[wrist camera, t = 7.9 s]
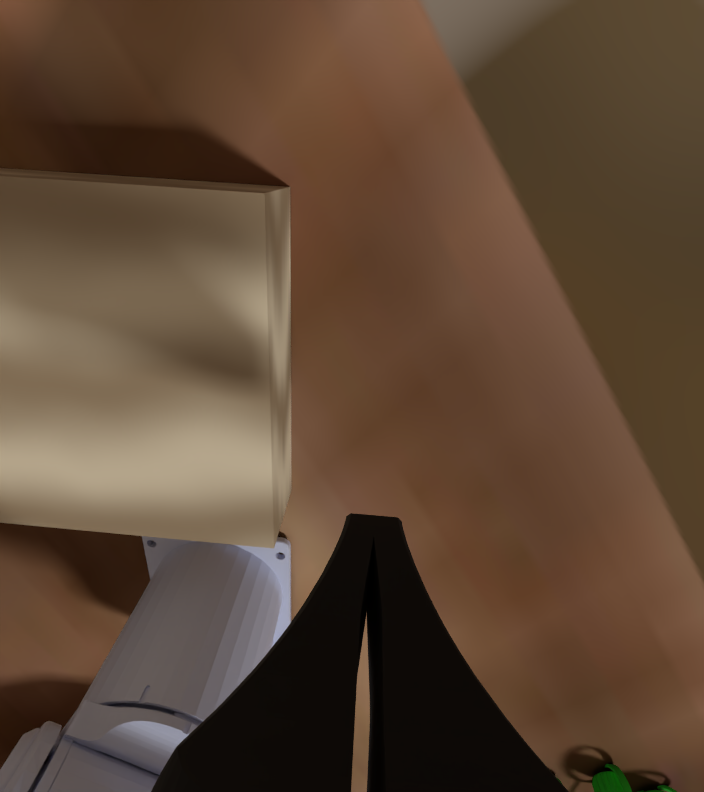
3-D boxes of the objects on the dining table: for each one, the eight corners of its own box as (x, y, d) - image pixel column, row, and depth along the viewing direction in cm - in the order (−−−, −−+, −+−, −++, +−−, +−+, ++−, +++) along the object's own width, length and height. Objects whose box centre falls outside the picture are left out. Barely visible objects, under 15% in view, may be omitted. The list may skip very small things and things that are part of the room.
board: (291, 489, 24) (274, 548, 20) (22, 465, 24) (-42, 518, 20) (290, 186, 17) (264, 193, 14) (-75, 162, 18) (-192, 163, 14)
